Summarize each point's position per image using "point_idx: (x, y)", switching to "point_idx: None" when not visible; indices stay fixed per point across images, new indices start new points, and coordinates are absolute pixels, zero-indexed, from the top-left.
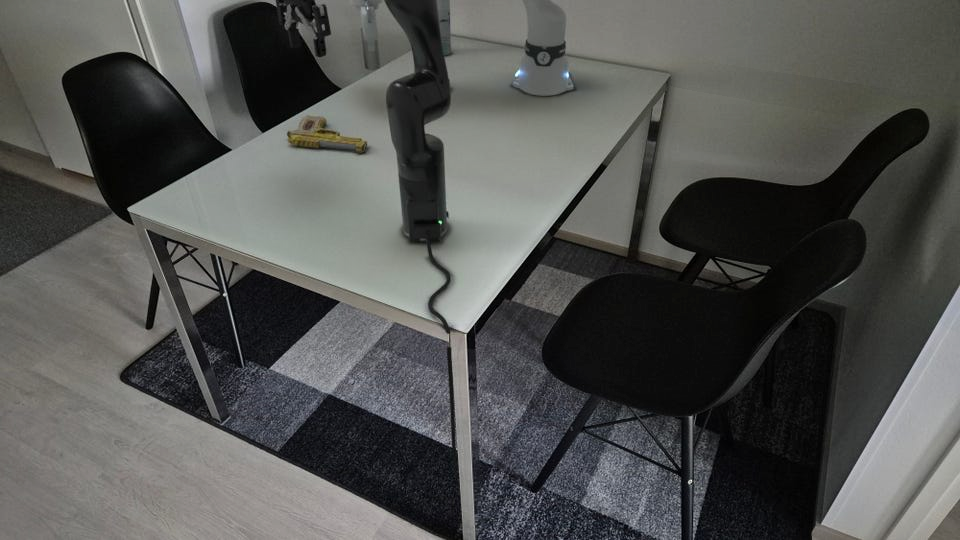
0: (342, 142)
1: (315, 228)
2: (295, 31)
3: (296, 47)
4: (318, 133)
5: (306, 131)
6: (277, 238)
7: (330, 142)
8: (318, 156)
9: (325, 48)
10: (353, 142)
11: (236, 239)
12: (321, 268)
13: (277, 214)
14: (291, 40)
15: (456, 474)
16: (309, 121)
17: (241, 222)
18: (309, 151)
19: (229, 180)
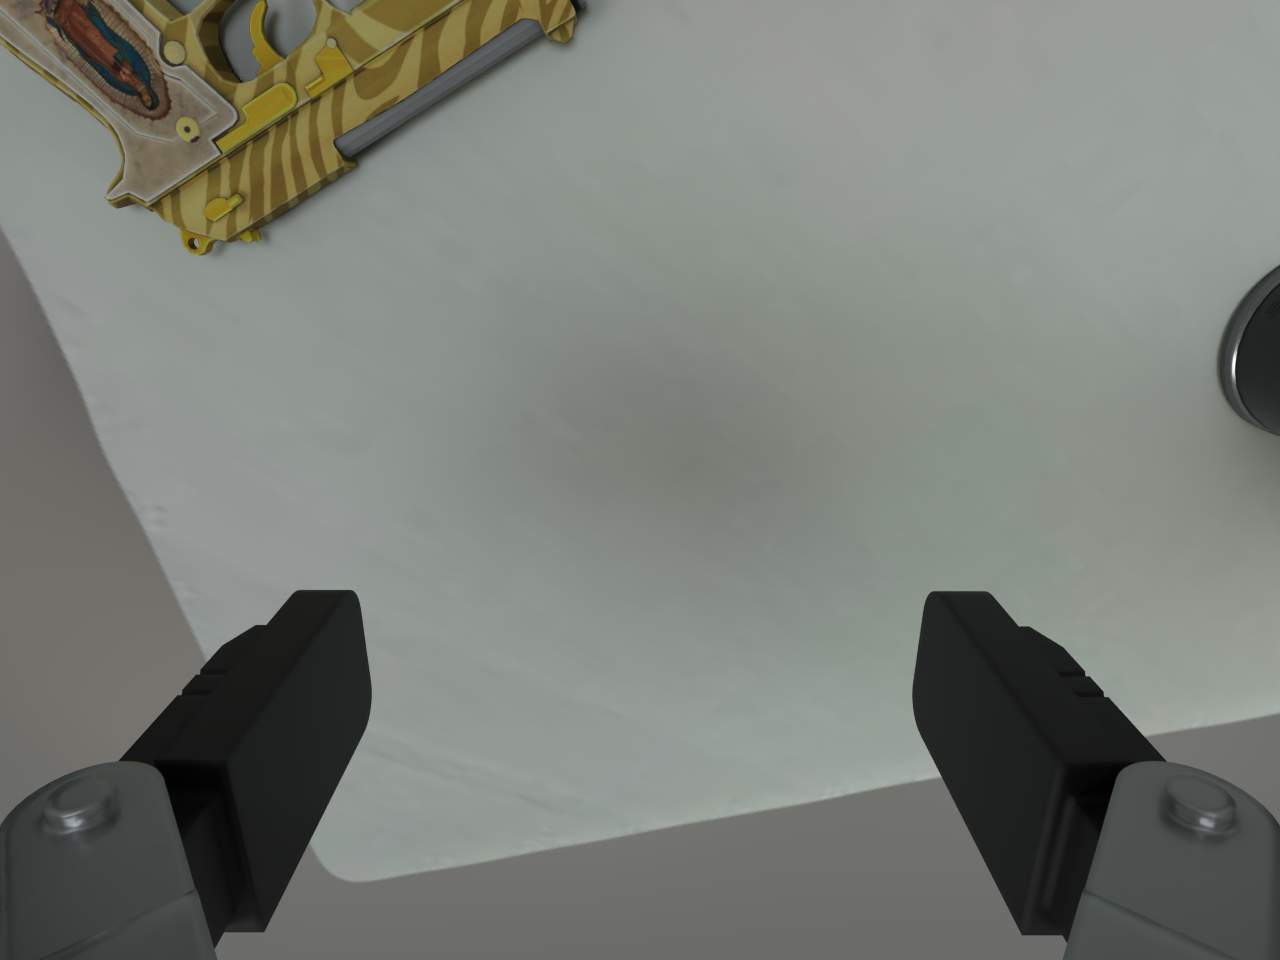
0: (450, 60)
1: (913, 603)
2: (253, 799)
3: (363, 659)
4: (250, 86)
5: (188, 129)
6: (848, 713)
7: (394, 108)
8: (423, 216)
9: (1084, 681)
10: (496, 9)
11: (740, 790)
12: None
13: (721, 634)
14: (329, 798)
15: None
16: (54, 10)
17: (664, 733)
18: (339, 211)
19: None
